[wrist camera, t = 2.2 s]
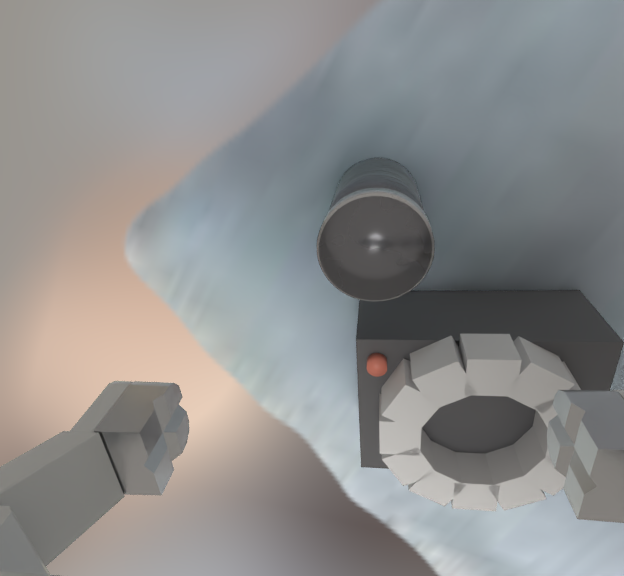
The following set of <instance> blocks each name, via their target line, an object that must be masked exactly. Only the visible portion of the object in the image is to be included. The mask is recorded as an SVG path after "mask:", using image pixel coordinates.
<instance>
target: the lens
mask: <svg viewBox="0 0 624 576" xmlns="http://www.w3.org/2000/svg"><path fill="white" fill-rule="evenodd" d="M434 250H435V248H434V237H433V233H432V229H431V226H430V223H429V220H428V218H427V216H426V214H425V213H424V210H423V206H422V202H421V199H420V195H419V191H418V188H417V185H416V182H415V180H414V178H413V176H412V175H411V173H410V172H409V171H408V170H407V169H406V168H405V167H404V166H402V165H401V164H399V163H398V162H395V161H393V160H390V159H386V158H370V159H366V160H363V161H360V162H358V163H356V164H355V165H353V166H352V167H350V168H349V169H348V170H347V171H346V172H345V173H344V175H343V176H342V178H341V179H340V181H339V183H338V185H337V188H336V191H335V194H334V197H333V200H332V203H331V206H330V209H329V212H328V213H327V215H326V217H325V218H324V221H323V223H322V226H321V228H320V231H319V235H318V239H317V256H318V261H319V264H320V267H321V269H322V271H323V273H324V274H325V276H326V278H327V279H328V280H329V281H330V282H331V283H332V284H333V285H334V286H335V287H336V288H337V289H339V290H340V291H341V292H343V293H345V294H347V295H349V296H351V297H353V298H357V299H360V300H365V301H385V300H390V299H394V298H397V297H399V296H402V295H404V294H406V293H407V292H409V291H411V290H412V289H413V288H415V287H416V286H417V285H418V284H419V283H420V282H421V281H422V280H423V278H424V277H425V276H426V274H427V272H428V271H429V269H430V266H431V264H432V261H433V257H434Z"/></svg>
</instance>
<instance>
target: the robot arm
mask: <svg viewBox="0 0 624 576" xmlns="http://www.w3.org/2000/svg"><path fill="white" fill-rule="evenodd" d="M181 399H182V394H181V391H180V388H179V386H178V385H177V384H175V383H160V382H125V381H114V382H112V383H109V384H108V385H107V387H106V388H105V389H104V390H103V391H102V393H101V394H100V395H99V396H98V398H97V399H96V400H95V401H94V402H93V404H92V405H91V406H90V407H89V409H88V410H87V411H86V412H85V414H84V415H83V416H82V417H81V418H80V420H79V421H78V422H77V423H76V424H75V426H74V427H73V428H72V429H71V430H70V431H67V432H66V431H63V432H61V433H59V434H58V435H56V436H54V437H52V438H51V439H49V440H47V441H45V442H44V443H42V444H40V445H38V446H36V447H35V448H33V449H31V450H29V451H27V452H26V453H24V454H22V455H20V456H19V457H17V458H15V459H14V460H12V461H10V462H8V463H6V464H5V465H3V466H1V467H0V576H58V575H50V573H49V571H48V570H47V568H46V566H47V565H48V564H49V563H50V562H51V561H53V560H54V559H55V558H56V557H57V556H58V555H59V554H60V553H62V552H63V551H64V550H65V549H66V548H67V547H68V546H69V545H71V544H72V543H73V542H74V541H75V540H76V539H77V538H78V537H79V536H81V535H82V534H83V533H84V532H85V531H86V530H87V529H89V528H90V527H91V526H92V525H93V524H94V523H95V522H96V521H97V520H99V519H100V518H101V517H102V516H103V515H104V514H105V513H106V512H108V511H109V510H110V509H111V508H112V507H113V506H114V505H116V504H117V503H118V502H119V501H120V500H121V499H122V498H123V497H124V494H130V495H162V493H163V491H164V489H165V487H166V485H167V483H168V481H169V479H170V477H171V475H172V473H173V471H174V468H173V465H172V460H174V459H175V458H176V457H178V456H179V455H180V454H182V452H183V450H184V448H185V445H186V443H187V439H188V434H189V420H188V415H187V412H186V411H185V410H184V409H183V408H182V407H181V406H180V405H179V402H180V400H181ZM553 407H554V409H555V411H556V413H557V415H556V416H555V417H554V418H553V419H551V420H550V421H549V424H548V429H547V447H548V451H549V455H550V459H551V461H552V463H553V466H554V468H555V469H556V470H557V471H558V472H559V473H561V474H562V475H563V476H565V477H566V480H565V484H564V491H565V493H566V495H567V497H568V499H569V502H570V504H571V506H572V508H573V511H574V513H575V515H576V517H577V519H584V520H596V521H608V522H620V523H624V390H612V391H610V390H558V391H557V393H556V394H555V397H554V401H553Z"/></svg>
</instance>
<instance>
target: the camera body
mask: <svg viewBox="0 0 624 576" xmlns="http://www.w3.org/2000/svg"><path fill="white" fill-rule="evenodd" d="M623 344H624V342H623V341H622V340H621V339H620V337H619V336H618V335H617V334H616V333H615V331H614V330H613V329H612V328H611V327H610V326H609V324H608V323H607V322H606V321H605V320H604V318H603V317H602V316H601V315H600V314H599V312H598V311H597V310H596V309H595V308H594V307H593V305H592V304H591V303H590V302H589V301H588V299H587V298H586V297H585V296H584V295H583V294H582V292H581V291H580V290H546V291H409V292H407V293H406V294H404V295H402V296H399V297H397V298H394V299H390V300H385V301H365V300H360V301H359V312H358V324H357V335H356V348H357V373H358V398H359V423H360V448H361V467H371V468H388V469H390V470H391V471H392V473H393V474H394V475H395V476H396V478H397V479H398V480H399V481H400V483H401V484H402V485H403V486H405V485H408V487H409V491H412V492H414V493H416V494H418V495H421V496H423V497H425V498H427V499H429V500H432V501H434V502H436V503H438V504H440V505H443V506H446V505H447V504H448V503H449V502H450V501H451V503H452V508H455V509H470V510H484V511H496V507H497V501H498V503H499V504H500V506H501V507H502V508H503V510H508V509H512V508H515V507H519V506H523V505H526V504H530V503H534V502H538V501H541V500H545V499H546V496H545V494H544V491H545V492H547V493H549V494H551V495H553V496H554V495H555V494H556V493H558V492H559V491H560V490H561V489H563V488H564V484H565V480H566V477H565V476H563V475H562V474H561V473H559V472H558V471H557V470H556V469H555V468H554V466H553V463H552V461H551V459H550V455H549V451H548V447H547V429H548V424H549V421H550V420H551V419H553V418H554V417H555V416H556V415H557V413H556V411H555V409H554V407H553V401H554V397H555V394H556V393H557V391H558V390H610V387H611V384H612V381H613V377H614V374H615V371H616V367H617V364H618V360H619V357H620V354H621V350H622V347H623Z"/></svg>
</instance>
